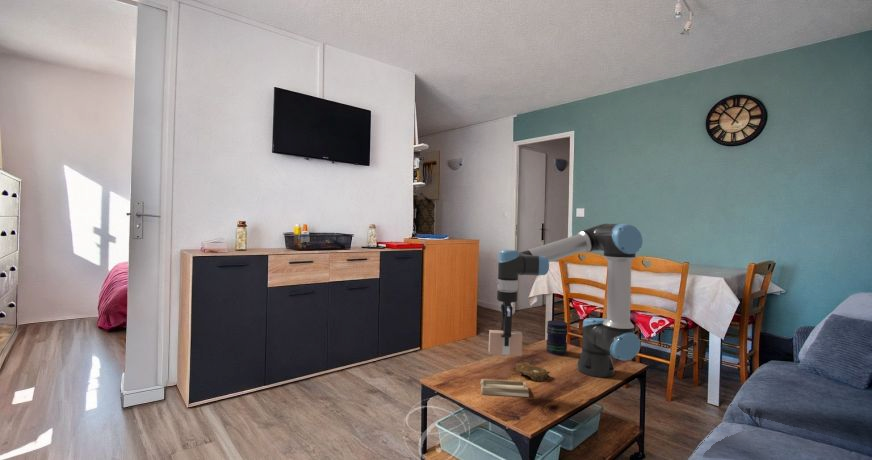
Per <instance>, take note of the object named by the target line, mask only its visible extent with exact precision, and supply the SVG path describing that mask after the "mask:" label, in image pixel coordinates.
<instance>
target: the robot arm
mask: <svg viewBox="0 0 872 460" xmlns="http://www.w3.org/2000/svg"><path fill="white" fill-rule="evenodd" d="M642 246H643V236H642V234H641V232H640V230H639V229H638V228H637V227H636V226H635V225H633V224H629V223H621V222H620V223H601V224H597V225H595V226H592V227H590V228H587V229H584V230H580V231H578V232H577V234H575V235H572V236H569V237H565V238H562V239H558V240H555V241H553V242H550V243H545V244H542V245H540V246H537V247H533V248H530V249H527V250H523V251H520V252H519V250H516V249H500V251H499V253H498V258H497V259H498V260H497V263H498V264H497V269H498V270H497V281H496V282H495V284H496V285H497V292H496V294H497V295H496V300H497V302H500V303H501V302H502V303H501V305H500V309H501V310H500V311H501V312H500V314H501V315H500V316H501V319H500V331H503V335H501V337H503V342H502V354H505V355H504V356H511V355H510V337H511V331H512V325H513V323H512V322H513V310H514V309H513V306H512V303H516V302H517V301H518V289H519V288H518V287H519V276H545V275H547V274H548V273H549V270H550V263H551V262H554V261H557V260H560V259H564V258H567V257H569V256H572V255H576V254H579V253H581V252H583V253H586V254H587V253H590V252H595V251H597V252H599V251H601V252H603V258H605V259H606V261H607V277H606V279H607V280H606V281H607V283H606V284H607V286H606V287H607V288H606V289H607V291H606V295H607V296H606V318H601V317H588V318H587V317H586V318H585V319H583V321H582V336H581V337H582V339H581V340H582V343H581V344H582V345H581V346H582V347H581V353H580V356H579V358H578V361H577V363H576V365H577V370H578V372H581V373H582V374H585V375H587V376H592V377H596V378H597V377H598V378H610V377H613V376H614V375H615V370H616V369H615V367H614V363H613V359H612V358H614V359H617V360H619V361H623V362H626V361H630V360H633V359H634V358H635V357H636V356H637V355H638V354H639V352H640V349H641V343H642V342H641V340H640V338H639V336H638V335H637V334H635V324H633V323H632V322H631V289H632V285H631V284H632V281H631V280H632V278H631V277H632V262H633V260H635V259H636V253H638V252H639V251H640V249H642Z"/></svg>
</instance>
